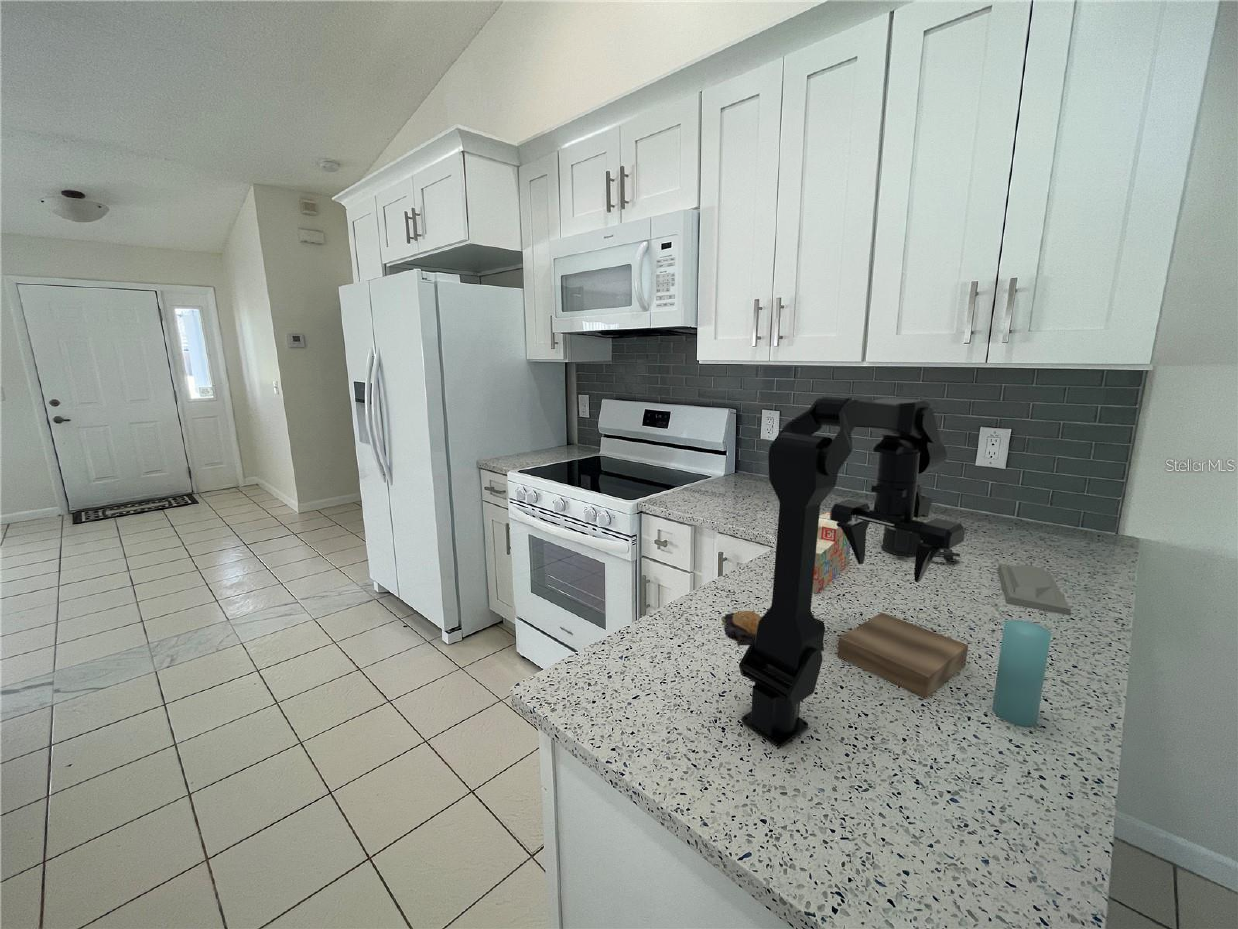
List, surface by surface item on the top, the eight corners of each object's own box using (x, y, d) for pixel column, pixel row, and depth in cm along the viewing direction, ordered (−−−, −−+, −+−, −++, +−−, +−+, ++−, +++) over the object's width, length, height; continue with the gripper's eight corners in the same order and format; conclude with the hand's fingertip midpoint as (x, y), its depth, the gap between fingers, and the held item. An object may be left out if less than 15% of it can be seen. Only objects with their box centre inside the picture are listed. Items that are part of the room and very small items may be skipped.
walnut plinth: (926, 698, 76) (928, 677, 76) (837, 656, 87) (838, 637, 87) (965, 664, 84) (968, 645, 84) (880, 630, 95) (881, 612, 95)
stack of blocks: (818, 595, 110) (821, 539, 108) (789, 587, 114) (792, 533, 112) (849, 564, 126) (853, 515, 124) (823, 558, 130) (826, 510, 128)
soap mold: (1004, 606, 105) (1007, 590, 104) (995, 571, 122) (997, 557, 121) (1070, 618, 100) (1073, 601, 99) (1052, 580, 117) (1054, 565, 116)
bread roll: (718, 620, 101) (718, 602, 101) (761, 618, 102) (761, 601, 101) (731, 649, 91) (731, 630, 90) (779, 648, 91) (780, 628, 90)
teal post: (1029, 732, 69) (1044, 642, 67) (986, 712, 73) (998, 627, 71) (1042, 716, 72) (1056, 630, 70) (1000, 698, 76) (1011, 616, 74)
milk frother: (876, 543, 140) (881, 489, 137) (941, 546, 137) (948, 491, 134) (892, 563, 126) (898, 504, 123) (965, 567, 123) (972, 507, 120)
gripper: (985, 481, 79) (973, 578, 82) (866, 463, 94) (859, 545, 97) (953, 493, 73) (941, 597, 76) (831, 472, 87) (825, 560, 91)
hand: (888, 572), depth 85 cm, fingers open, 9 cm apart
